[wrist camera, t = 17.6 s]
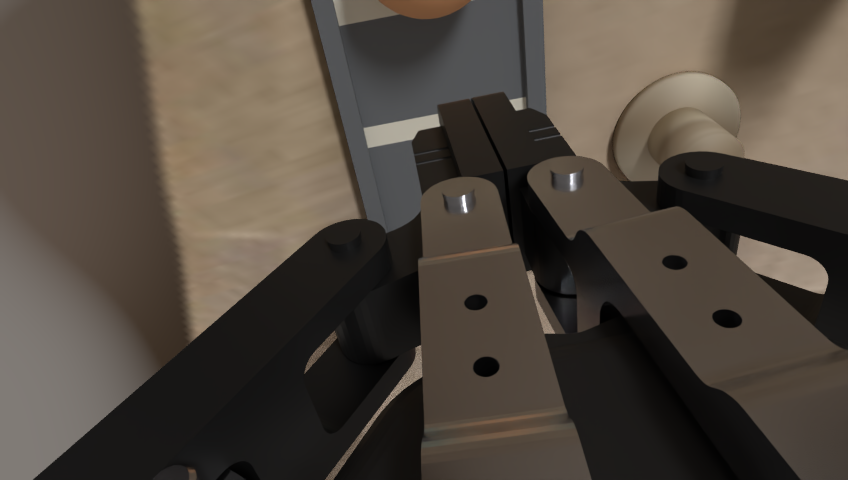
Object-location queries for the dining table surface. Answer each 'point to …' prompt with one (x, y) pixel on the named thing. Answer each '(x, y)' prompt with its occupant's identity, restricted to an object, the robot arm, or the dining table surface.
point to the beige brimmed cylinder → (676, 123)
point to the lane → (421, 82)
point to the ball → (424, 7)
